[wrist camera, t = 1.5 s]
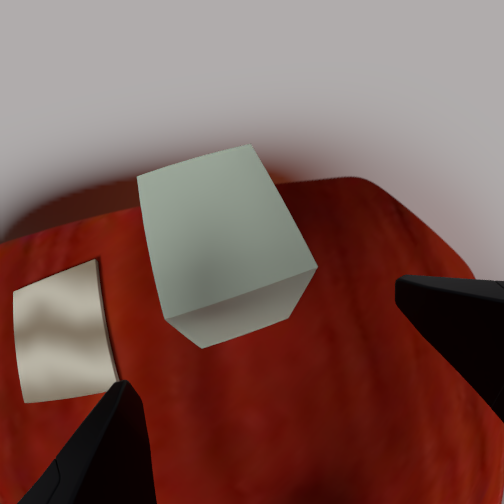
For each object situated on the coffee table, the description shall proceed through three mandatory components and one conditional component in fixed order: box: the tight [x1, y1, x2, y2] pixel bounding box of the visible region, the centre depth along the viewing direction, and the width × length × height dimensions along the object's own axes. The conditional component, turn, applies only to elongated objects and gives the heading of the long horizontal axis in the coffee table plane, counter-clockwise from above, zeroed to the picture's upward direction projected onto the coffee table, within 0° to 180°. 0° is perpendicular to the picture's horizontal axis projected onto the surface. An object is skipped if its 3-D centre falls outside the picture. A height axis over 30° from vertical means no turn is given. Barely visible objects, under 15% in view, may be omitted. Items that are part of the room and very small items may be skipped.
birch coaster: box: [13, 259, 119, 403], centre depth 19 cm, size 12×12×1 cm
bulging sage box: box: [137, 144, 318, 348], centre depth 18 cm, size 9×7×10 cm
